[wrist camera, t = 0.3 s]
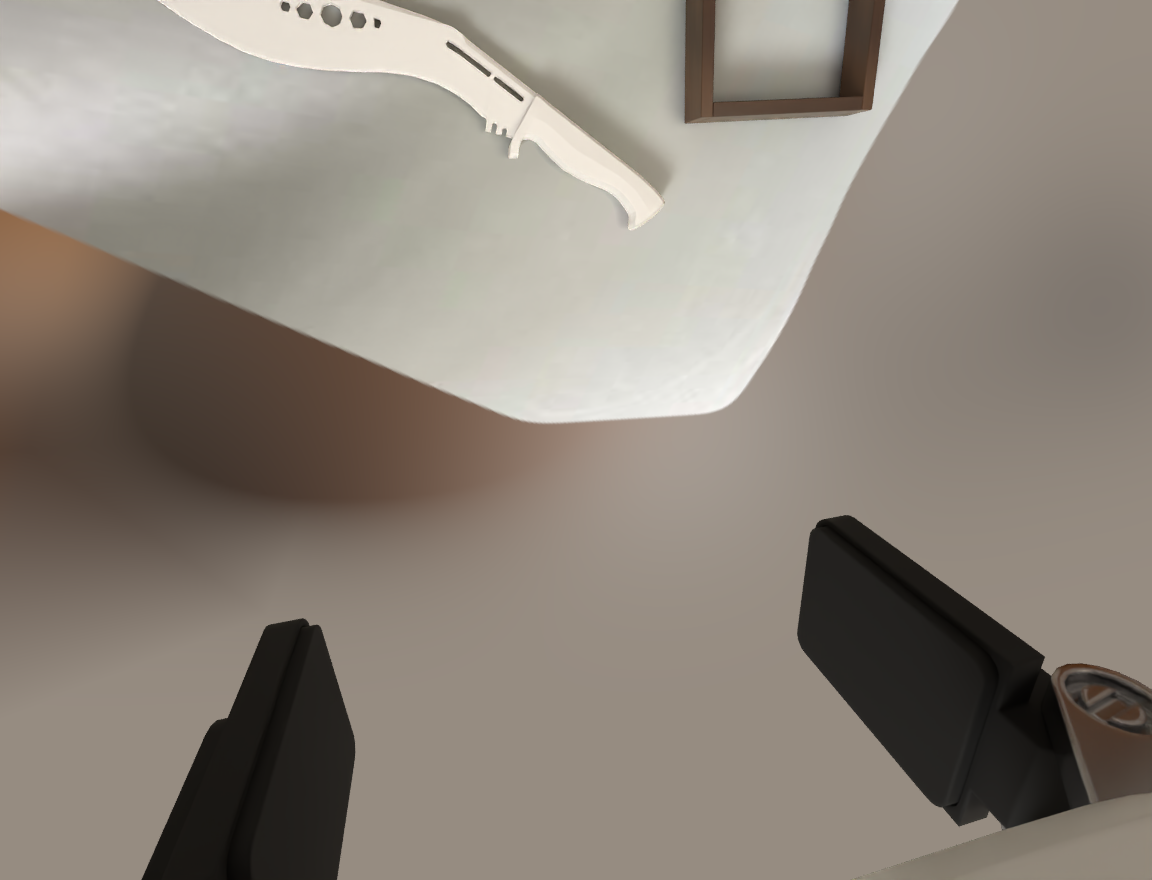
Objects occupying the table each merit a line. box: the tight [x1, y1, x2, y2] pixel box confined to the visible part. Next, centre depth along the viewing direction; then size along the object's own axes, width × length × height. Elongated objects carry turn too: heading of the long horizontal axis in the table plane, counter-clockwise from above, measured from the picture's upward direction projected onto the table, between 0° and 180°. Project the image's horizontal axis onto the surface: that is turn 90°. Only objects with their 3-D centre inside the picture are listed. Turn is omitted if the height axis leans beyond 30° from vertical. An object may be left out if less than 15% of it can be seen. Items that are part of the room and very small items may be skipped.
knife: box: [158, 0, 665, 230], centre depth 32 cm, size 30×2×8 cm
